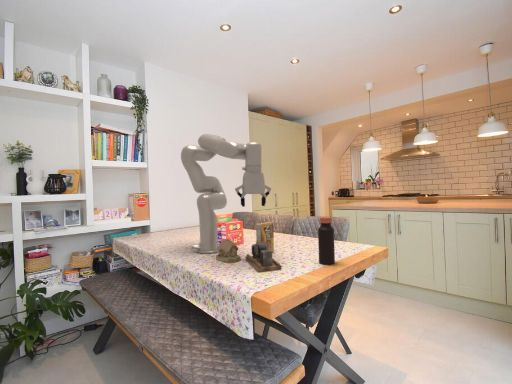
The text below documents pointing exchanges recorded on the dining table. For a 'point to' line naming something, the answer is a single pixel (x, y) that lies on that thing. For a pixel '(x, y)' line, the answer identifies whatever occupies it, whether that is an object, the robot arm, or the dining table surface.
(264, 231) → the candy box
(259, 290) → the dining table surface
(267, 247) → the finger block
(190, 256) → the dining table surface
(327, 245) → the bottle
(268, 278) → the dining table surface
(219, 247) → the ceramic model
